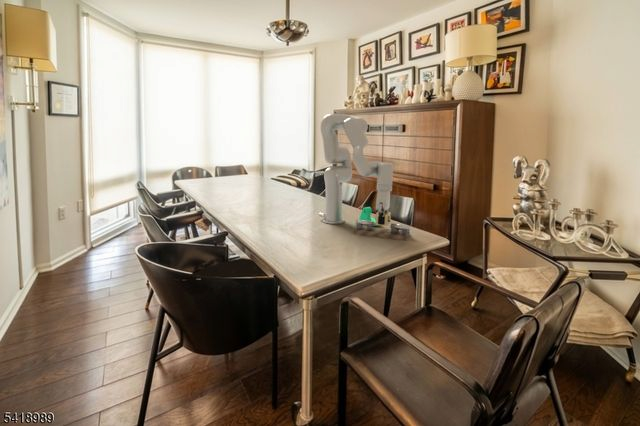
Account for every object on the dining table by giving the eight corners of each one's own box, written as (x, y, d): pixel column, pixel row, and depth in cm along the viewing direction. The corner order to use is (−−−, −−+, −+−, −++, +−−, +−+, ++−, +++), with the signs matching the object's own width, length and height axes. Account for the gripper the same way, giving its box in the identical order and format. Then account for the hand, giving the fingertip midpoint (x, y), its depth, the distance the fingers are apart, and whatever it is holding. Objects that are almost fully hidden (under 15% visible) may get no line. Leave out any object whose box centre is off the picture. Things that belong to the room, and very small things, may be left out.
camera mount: (381, 226, 197) (382, 208, 194) (369, 228, 194) (370, 209, 192) (370, 221, 208) (371, 204, 205) (359, 222, 205) (359, 205, 203)
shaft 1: (355, 229, 184) (355, 220, 183) (356, 227, 189) (357, 218, 187) (373, 231, 182) (373, 222, 181) (374, 228, 186) (374, 220, 185)
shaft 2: (389, 233, 179) (389, 224, 178) (392, 231, 182) (393, 222, 181) (406, 236, 174) (407, 226, 173) (409, 234, 177) (410, 224, 176)
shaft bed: (354, 233, 183) (354, 230, 182) (360, 228, 192) (360, 225, 192) (405, 240, 172) (405, 237, 172) (409, 234, 182) (409, 231, 182)
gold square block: (374, 224, 180) (374, 213, 179) (377, 222, 186) (378, 210, 184) (388, 226, 177) (388, 214, 176) (391, 223, 183) (391, 212, 181)
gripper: (381, 184, 186) (380, 218, 191) (372, 189, 171) (370, 225, 175) (395, 185, 183) (394, 219, 187) (387, 190, 168) (385, 227, 172)
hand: (382, 222), depth 181 cm, fingers closed on gold square block, 6 cm apart
